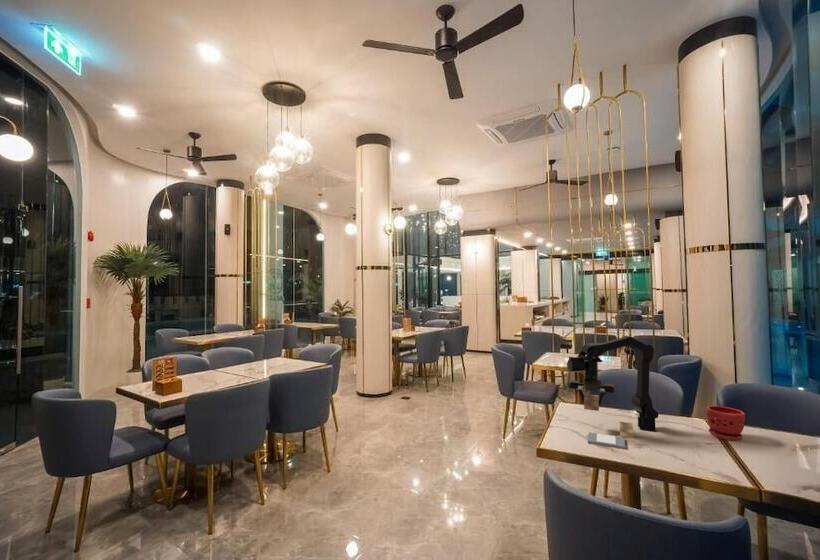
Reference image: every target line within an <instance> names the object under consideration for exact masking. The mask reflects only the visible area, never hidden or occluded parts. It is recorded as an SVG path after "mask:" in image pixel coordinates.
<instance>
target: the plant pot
mask: <svg viewBox="0 0 820 560" xmlns="http://www.w3.org/2000/svg"><path fill="white" fill-rule="evenodd" d="M706 418H707V419H706V420H707V423H708V425H709V428H708V431H709V433H710V435H712V436H714V437H715V438H718V439H721V440H725V441H727V440H728V441H740V440H741V439H743V434H742V432H743V430H744V428H745V423H746V413H745V412H744V411H742V410H740V409H737V408H732V407H727V406H719V405H709V406H707V407H706Z"/></svg>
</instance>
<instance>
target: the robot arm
mask: <svg viewBox="0 0 820 560" xmlns="http://www.w3.org/2000/svg"><path fill="white" fill-rule="evenodd" d="M624 347H629V348H630V349H632V350H633V352H634V356H635V359H636V361H637V374H636V375H637V379H636V393H635V395H633V394H631V402H630V403H631V404H632V407H633V408H634V410H635V411H636V413H637V414H638V416H637V426H638V429H639V430H640V431H641V430H642V431H648V432H657V430H656V419H658V418H659V413H658V411H657V410H655V408H654V407H653V400H652V398H651V395H650V372H651V371H650V368H651V367H650V366H651V365H650V364H651V362H652V361H653V359H654V356H655V347H653V346H652V345H651V344H648V343H644V342H642V341H639V340H638V339H635V337H632V336H629V335H625V336H622V337H618V338H615V339H611V340H607V341H604V342H597V343H596V342H593V343H585V344H583V345H582V348H581V350H580V352H579V354H578V355H577V356H568V360H567V362H566V367H567V369H568V372H581V373H582V372H584V379H583V382H582V383H581V382H580V381H579V380H573V379H572V380H570V381H569V389H572V390H575V391H576V392H578V394H580V395H579V396H580V398H581V401H582V403H583V404H584V396H585V392H584V390H585V391H591V392H596V391H597V390H599V407H600V406H601V403H602V400H603V398H604V396H605V395H607V394H608V393H609V394H611V393H612V394H614V393H615V386H614V384H612V383H604V384H602V380H599V370H598V369H599V365H598V363H602V362H603V360H602V359H601V358H600V356H602V355H604V353H607V352H609V351H613V350H618V349H620V348H624Z"/></svg>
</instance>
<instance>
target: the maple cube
mask: <svg viewBox="0 0 820 560" xmlns="http://www.w3.org/2000/svg"><path fill="white" fill-rule="evenodd" d="M619 437H624V438H630V439H633V438H634V425H633V423H632V422H626V421H619Z"/></svg>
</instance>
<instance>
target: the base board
mask: <svg viewBox="0 0 820 560" xmlns="http://www.w3.org/2000/svg"><path fill="white" fill-rule="evenodd" d="M587 444H590V445H596V446H603V447H608V448H609V447H610V448H614V449H615V448H616V449H621V450H626V441H625V437H623V436H618V435H611V434H603V433H598V432H597V433H596V432H590V431H588V436H587Z"/></svg>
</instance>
